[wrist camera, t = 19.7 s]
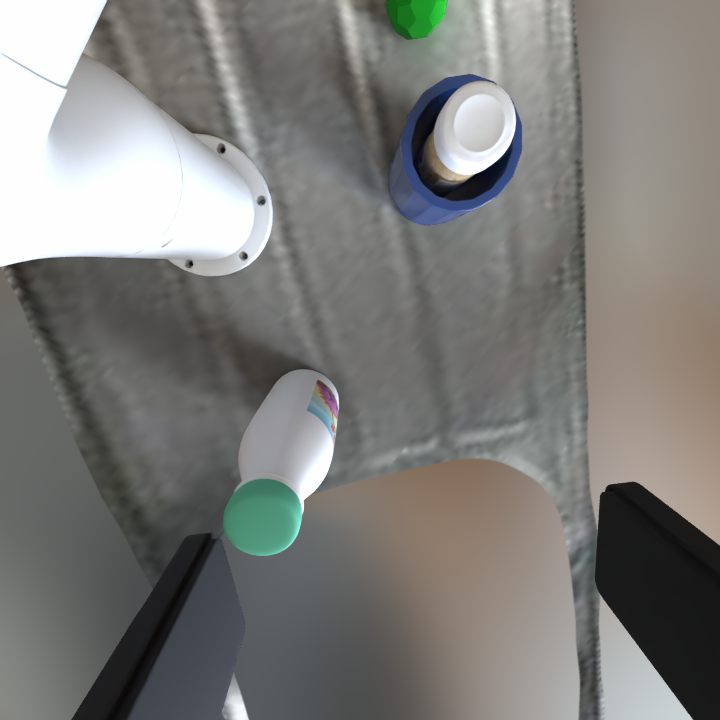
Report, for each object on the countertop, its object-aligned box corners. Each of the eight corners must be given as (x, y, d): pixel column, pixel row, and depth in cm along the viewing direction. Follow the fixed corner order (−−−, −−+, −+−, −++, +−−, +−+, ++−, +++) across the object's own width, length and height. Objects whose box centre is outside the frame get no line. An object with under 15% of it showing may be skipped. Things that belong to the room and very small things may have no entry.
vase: (393, 230, 35) (407, 218, 26) (383, 136, 33) (396, 84, 23) (476, 219, 35) (522, 202, 25) (472, 124, 33) (521, 66, 23)
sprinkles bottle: (406, 152, 33) (440, 79, 20) (455, 150, 33) (521, 74, 20) (407, 205, 34) (440, 169, 21) (454, 203, 34) (516, 165, 21)
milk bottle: (268, 425, 41) (190, 571, 21) (275, 362, 39) (196, 460, 19) (333, 435, 41) (315, 586, 22) (344, 373, 39) (334, 480, 20)
